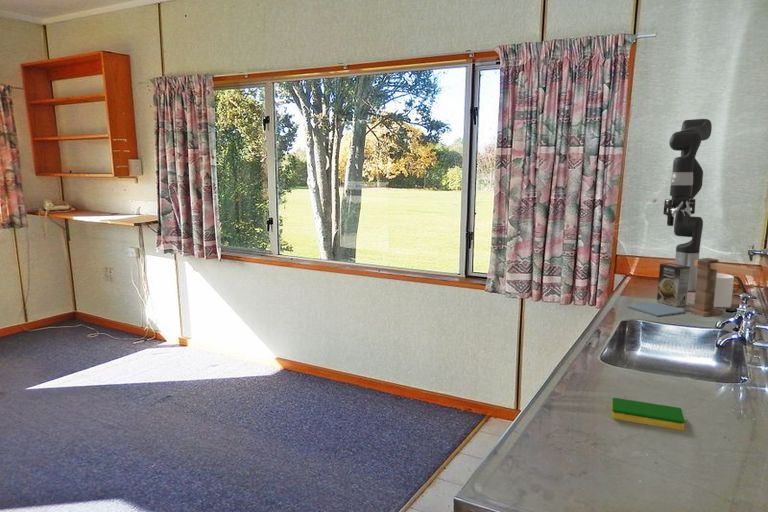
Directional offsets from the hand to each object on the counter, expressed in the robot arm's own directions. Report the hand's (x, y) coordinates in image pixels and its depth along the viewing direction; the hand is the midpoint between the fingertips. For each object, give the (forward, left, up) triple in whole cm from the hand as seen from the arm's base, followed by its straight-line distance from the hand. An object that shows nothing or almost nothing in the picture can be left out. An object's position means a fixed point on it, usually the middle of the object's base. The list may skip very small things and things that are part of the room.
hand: (678, 225), depth 205 cm
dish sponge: (+90, +70, -33) cm, 119 cm away
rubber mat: (+14, +5, -32) cm, 35 cm away
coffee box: (0, 0, -32) cm, 32 cm away
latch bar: (0, +21, -15) cm, 25 cm away
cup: (-15, +7, -32) cm, 36 cm away
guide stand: (0, +14, -32) cm, 35 cm away
